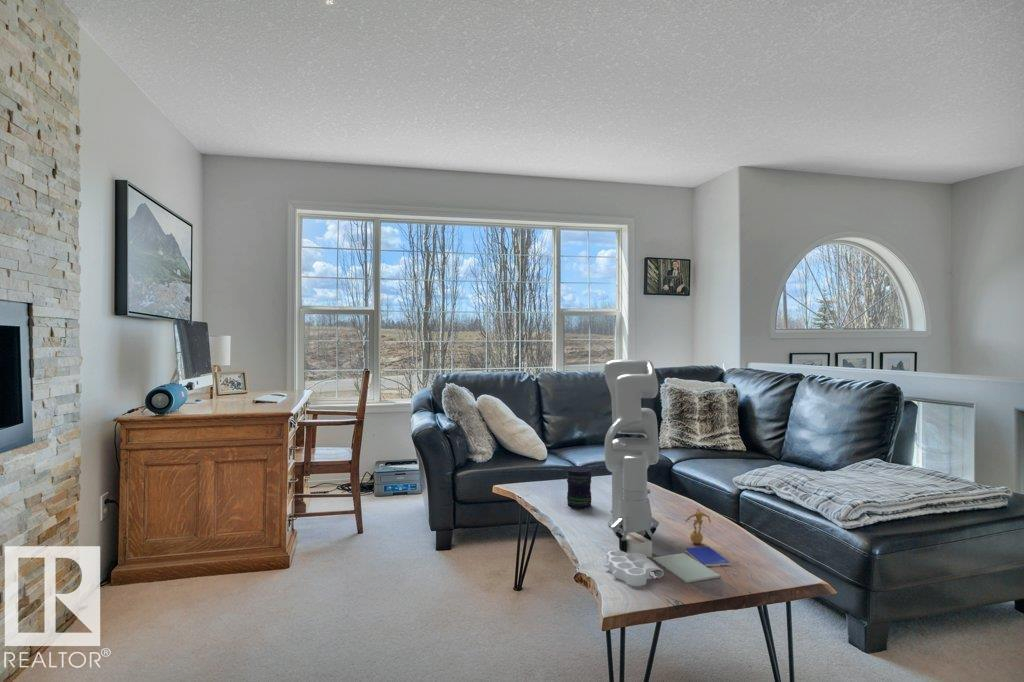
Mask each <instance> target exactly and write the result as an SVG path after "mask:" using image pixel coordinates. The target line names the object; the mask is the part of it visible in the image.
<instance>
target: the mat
mask: <svg viewBox="0 0 1024 682" xmlns="http://www.w3.org/2000/svg"><path fill="white" fill-rule="evenodd" d="M652 560H653V561H654V560H655V563H657V562H658V563H657V564H659V565H660V564H661V565H660V566H661V567H663V568H664V567H665V568H664V569H666V570H667V571H669V572H670V573H672V574H674V575H675V576H676V577H678V579H680V580H682V581H683V582H685V583H686V584H688V583H694V582H695V583H696V582H700V581H708V580H713V579H718V578H719V579H720V578H721V575H720V574H719V573H717V572H715V571H714V570H712V569H711V568H710V567H706V566H704V565H703V564H701V563H699V562H698V561H697V560H696V559H694V558H693V557H692V556H689V554H686V553H684V552H680V553H675V554H669V555H663V556H662V555H660V556H655V557H653V556H652Z"/></svg>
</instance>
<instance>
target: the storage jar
mask: <svg viewBox="0 0 1024 682" xmlns="http://www.w3.org/2000/svg"><path fill="white" fill-rule="evenodd" d="M566 471H567V472H566V481H567V492H566V493H567V495H566V500H567V501H566V502H567V504H566V505H568V506H569V507H571V508H570V509H572V508H575V509H574V510H586V509H585V508H588V509H590V508H591V507H592V492H591V485H592V469H591V468H590V467H588V466H582V465H581V466H580V465H579V466H578V465H577V466H570V467H567V468H566ZM568 506H567V507H568ZM569 507H568V508H569ZM589 507H590V508H589Z"/></svg>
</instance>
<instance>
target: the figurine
mask: <svg viewBox="0 0 1024 682" xmlns="http://www.w3.org/2000/svg"><path fill="white" fill-rule="evenodd" d="M693 517H695V518H696V519H694V521H693V522H692V523H693V524H692V525H693V528H694V530H693V531H692V532H691V533H690V536H689V538H690V541H691V542H692V543H693V544H697V545H698V544H699V545H700V544H701V543H702V542H703V540H704V537H703V534H702V533H701V530H702V524H703V522H704V521H703V520H702V518H703V517H706V518H707V519H708V522H709V524H711V523H712V521H711V519H710V516H709V515H707V514H706V513H704V512H702V511H701V509H700V508H697V509H696V512H695V513H693V514H691V515H690V516H689V517H688V518H687V519H686V520H685V524H686V523H687V522H688V521H689V520H690V519H691V518H693ZM696 525H698V528H699V529H698V530H697V526H696Z"/></svg>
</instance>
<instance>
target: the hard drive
mask: <svg viewBox="0 0 1024 682" xmlns="http://www.w3.org/2000/svg"><path fill="white" fill-rule="evenodd" d="M686 551H687V552H688V553H689V554H688V555H690V557H691V558H693V559H694V558H695V559H694V560H696V561H698V562H699V563H701V564H703V565H704V566H712V567H721V566H720V565H727V566H731V562H730V561H729V560H728V559H726V558H725V557H724V556H722V555H721V554H719V553H718V552H717V551H715V550H714V549H713V548H712V547H710V546H696V547H686V548H685V552H686ZM687 552H686V553H687Z"/></svg>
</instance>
